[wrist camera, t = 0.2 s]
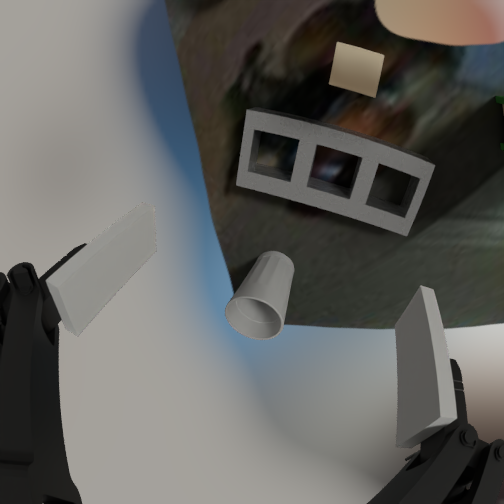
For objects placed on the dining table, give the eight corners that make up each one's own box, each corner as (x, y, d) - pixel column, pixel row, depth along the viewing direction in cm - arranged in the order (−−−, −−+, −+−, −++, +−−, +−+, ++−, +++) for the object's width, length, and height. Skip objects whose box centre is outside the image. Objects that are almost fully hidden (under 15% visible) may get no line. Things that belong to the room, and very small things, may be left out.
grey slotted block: (256, 107, 34) (246, 109, 31) (426, 157, 31) (435, 165, 28) (245, 175, 40) (235, 185, 37) (402, 222, 37) (406, 236, 33)
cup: (305, 256, 44) (290, 309, 35) (291, 293, 49) (275, 346, 39) (256, 240, 45) (228, 288, 36) (247, 278, 50) (222, 328, 40)
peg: (339, 56, 28) (337, 41, 18) (371, 65, 27) (384, 55, 18) (333, 85, 30) (328, 84, 20) (364, 94, 29) (374, 97, 20)
